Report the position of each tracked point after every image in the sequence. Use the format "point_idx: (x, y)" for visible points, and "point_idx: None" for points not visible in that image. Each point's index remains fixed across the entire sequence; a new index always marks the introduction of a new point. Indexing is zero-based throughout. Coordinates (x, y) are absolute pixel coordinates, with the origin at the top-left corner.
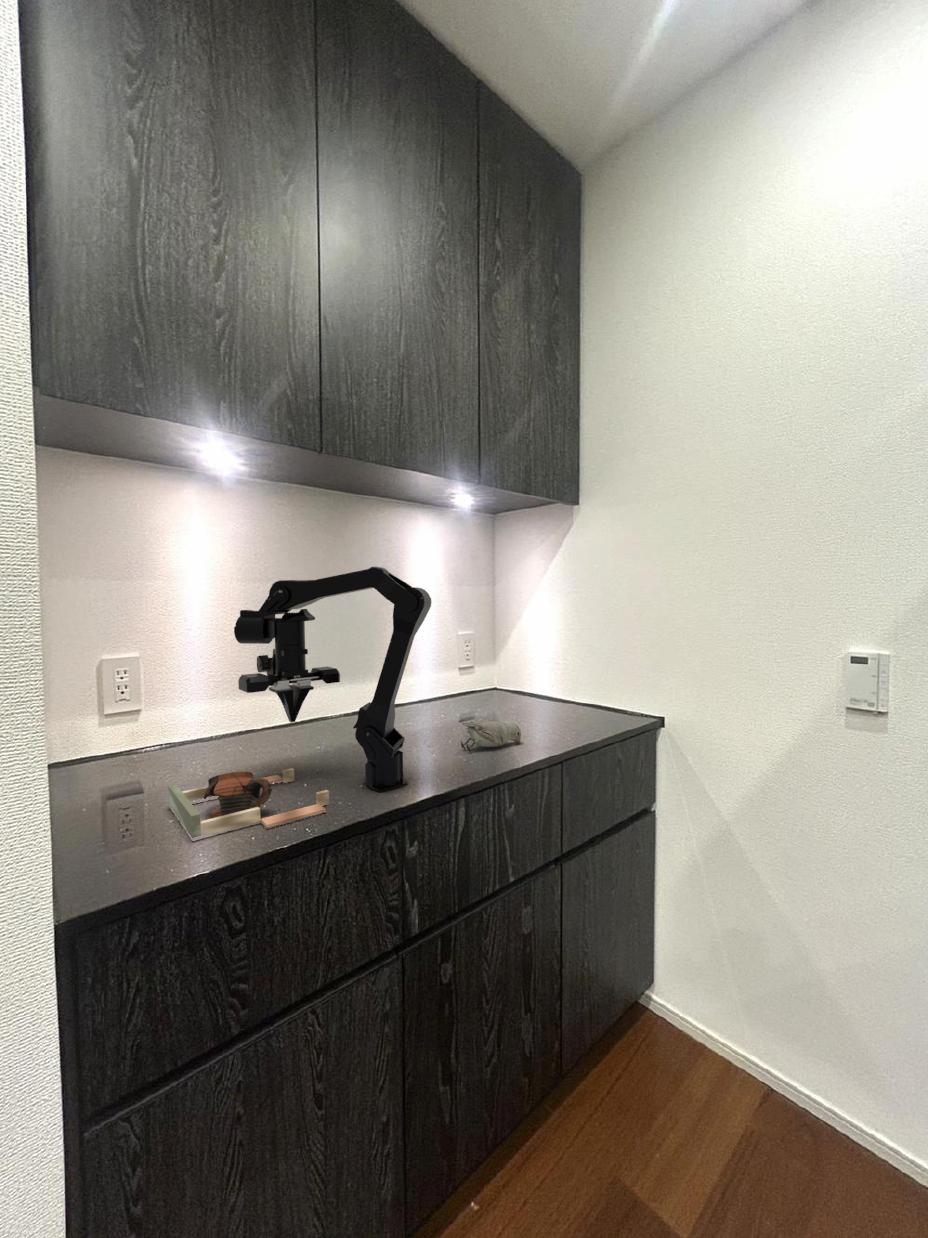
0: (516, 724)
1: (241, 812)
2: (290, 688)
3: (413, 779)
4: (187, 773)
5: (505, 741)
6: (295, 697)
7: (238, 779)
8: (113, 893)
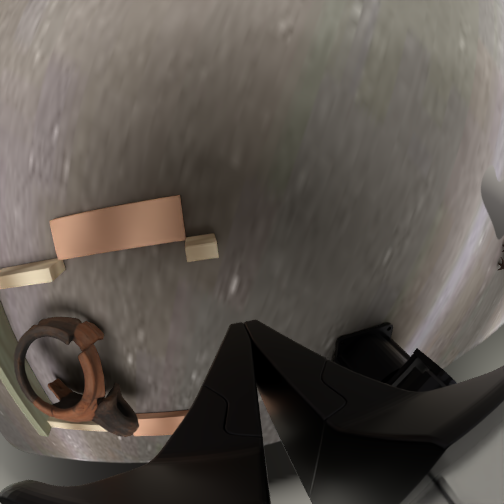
0: None
1: (96, 428)
2: (385, 453)
3: (402, 344)
4: (20, 48)
5: None
6: (312, 475)
7: (72, 419)
8: (26, 444)
